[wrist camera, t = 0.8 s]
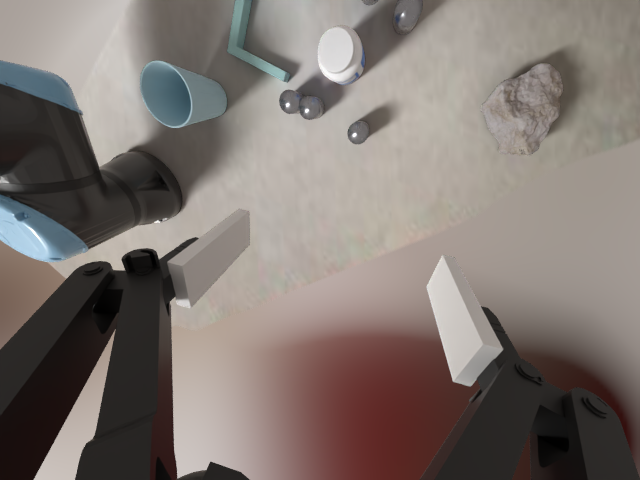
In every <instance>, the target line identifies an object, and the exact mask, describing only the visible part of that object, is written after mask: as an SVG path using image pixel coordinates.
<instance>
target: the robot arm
mask: <svg viewBox="0 0 640 480" xmlns="http://www.w3.org/2000/svg"><path fill="white" fill-rule="evenodd" d="M82 115H83V113H82V111H81V110H80V109H79V107H78V105H77V102H76V100H75V97H74V95H73V92H72V89H71V88H70V86H69V85H68V83H67V82H66V81H65V80H64V79H62V78H61V77H59V76H58V75H55V74H54V73H51V72H48V71H43V70H39V69H36V68H32V67H27V66H23V65H19V64H15V63H10V62H5V61H1V60H0V240H1V241H3V242H4V243H6V244H7V245H9V246H10V247H12V248H13V249H15V250H17V251H19V252H20V253H22V254H24V255H26V256H29V257H31V258H34V259H37V260H40V261H45V262H59V261H63V260H66V259H68V258H71V257H73V256H76V255H78V254H81V253H84V252H87V251H88V250H89V249H91V248H93V247H95V246H97V245H99V244H101V243H103V242H105V241H107V240H109V239H111V238H113V237H115V236H117V235H119V234H121V233H123V232H125V231H127V230H129V229H131V228H133V227H135V226H137V225H145V224H151V223H159V222H164V221H166V220H168V219H170V218H172V217H174V216H175V215H176V214H177V213H178V212H179V210H180V208H181V204H182V196H181V191H180V188H179V185H178V183H177V181H176V179H175V177H174V176H173V174H172V173H171V172H170V170H169V169H168V168H167V167H166V166H165V165H164V164H163V163H162V162H161V161H160V160H158V159H157V158H155V157H154V156H152V155H150V154H147V153H145V152H140V151H132V152H127V153H122V154H119V155H117V156H116V157H114V158H113V159H112V160H111V161H110V162H108V163H106V164H104V165H103V166H101V167H99V166H98V163H97V160H96V157H95V154H94V151H93V148H92V145H91V142H90V139H89V136H88V133H87V130H86V127H85V124H84V121H83V118H82ZM249 245H250V219H249V211H247V210H242V209H238V210H237V211H235V212H234V213H233V214H231V215H230V216H229V217H227V218H226V219H225V220H223V221H222V222H221V223H219V224H218V225H217V226H215V227H214V228H212V229H211V230H210V231H208V232H207V233H206V234H204V235H203V236H202V237H200V238H196V237H195V238H192V239H189V240H187V241H185V242H184V243H182V244H181V245H179V246H178V247H176V248H175V249H174V250H172V251H171V252H169V253H168V254H166V255H165V256H164V257H162V258H161V259H158V255H157V252H156V251H155V250H153V249H148V248H146V249H137V250H133V251H131V252H128V253H127V254H125V255H124V256H123V257H122V262H123V265H124V268H125V270H126V271H119V270H113V269H112V266H111V264H110V263H108V262H103V261H98V262H91V263H87V264H85V265H83V266H81V267H79V268H77V269H76V270H75V271H74V272H73V273H72V274H71V275H70V276H69V277H68V278H67V279H66V280H65V281H64V282H63V283H62V284H61V286H60V287H59V288H58V289H57V290H56V291H55V292H54V293H53V294H52V295H51V296H50V297H49V298H48V299H47V300H46V302H45V303H44V304H43V305H42V306H41V307H40V308H39V309H38V310H37V311H36V312H35V313H34V314H33V315H32V317H31V318H30V319H29V320H28V321H27V322H26V323H25V324H24V325H23V326H22V327H21V328H20V329H19V330H18V332H17V333H16V334H15V335H14V336H13V337H12V338H11V339H10V340H9V341H8V342H7V343H6V344H5V345H4V347H2V349H1V350H0V480H33V479H34V478H35V476H36V474H37V472H38V470H39V468H40V466H41V465H42V463H43V461H44V459H45V457H46V455H47V454H48V452H49V450H50V448H51V446H52V444H53V443H54V441H55V439H56V437H57V435H58V433H59V431H60V430H61V428H62V426H63V424H64V422H65V420H66V419H67V417H68V415H69V413H70V411H71V409H72V408H73V405H74V404H75V402H76V400H77V399H78V397H79V395H80V393H81V391H82V389H83V387H84V386H85V384H86V382H87V380H88V378H89V376H90V375H91V373H92V371H93V369H94V367H95V365H96V364H97V361H98V360H99V358H100V356H101V354H102V352H103V351H104V349H105V347H106V345H107V343H108V341H109V340H110V338H111V336H112V334H113V332H114V330H115V329H116V331H115V336H114V341H113V346H112V351H111V356H110V362H109V366H108V372H107V377H106V382H105V388H104V392H103V397H102V403H101V407H100V413H99V418H98V423H97V428H96V432H95V436H94V437H93V439H92V440H91V441H89V442H88V443H86V445H85V447H84V449H83V451H82V454H81V457H80V461H79V465H78V469H77V474H76V478H75V480H249V479H248V478H247V477H246V476H245V475H243V474H242V473H241V472H239V471H236V470H233V469H230V468H227V467H224V466H221V465H219V464H216V463H213V462H210V464H209V466H208V468H207V470H205V471H198V472H193V473H190V474H187V475H185V476H182V477H180V478H178V479H177V467H176V460H175V454H174V434H173V386H172V340H171V305H170V301H171V300H172V299H173V298H174V297H176V301H177V305H180V306H184V307H188V308H192V307H193V305H194V304H195V303H196V302H197V301H198V300H199V299H200V298H201V297H202V296H203V295H204V294H205V292H206V291H207V290H208V289H209V288H210V287H211V286H212V285H213V284H214V283H215V282H216V281H217V279H218V278H219V277H220V276H221V275H222V274H223V273H224V272H225V271H226V270H227V269H228V267H229V266H230V265H231V264H232V263H233V262H234V261H235V260H236V259H237V258H238V257H239V256H240V254H241V253H242V252H243V251H244V250H245V249H246V248H247V247H248V246H249ZM427 291H428V294H429V298H430V301H431V305H432V309H433V312H434V316H435V319H436V323H437V326H438V330H439V333H440V337H441V340H442V344H443V347H444V351H445V355H446V358H447V362H448V365H449V369H450V373H451V376H452V380H453V382H456V383H460V384H463V385H467V386H471V385H472V384H473V383H474V382H475V381H476V380H478V383H479V385H480V389H479V390H478V391H477V393H475V395H474V396H473V397H472V398H471V399H470V400H469V401H470V404H469V405H468V407H467V408H466V410H465V411H464V412H463V414H462V416H461V417H460V419H459V420H458V422H457V423H456V425H455V426H454V428H453V430H452V431H451V433H450V434H449V436H448V437H447V439H446V440H445V442H444V443H443V445H442V446H441V448H440V449H439V451H438V452H437V454H436V455H435V457H434V458H433V460H432V462H431V463H430V465H429V466H428V468H427V469H426V471H425V472H424V474H423V475H422V477H421V478H420V480H512V477H513V475H514V472H515V470H516V467H517V464H518V462H519V459H520V456H521V453H522V451H523V448H524V445H525V443H526V440H527V437H528V435H529V432H530V464H531V480H640V478H639V475H638V472H637V469H636V466H635V463H634V460H633V458H632V454H631V452H630V449H629V446H628V443H627V440H626V437H625V434H624V431H623V428H622V425H621V422H620V420H619V418H618V416H617V415H616V413H615V412H614V411H613V410H612V408H611V407H610V406H609V405H607V403H605V402H604V401H603V400H602V399H600V398H599V397H598V396H596V395H595V394H593V393H591V392H589V391H587V390H585V389H583V388H577V387H576V388H574V389H572V390H570V391H569V392H568V393H567V392H565V391H563V390H561V389H559V388H557V387H555V386H553V385H551V384H549V383H547V382H546V381H545V379H544V377H543V375H542V374H541V373H540V372H539V371H538V370H537V369H536V368H535V367H534V366H533V365H531V364H530V363H528V362H526V361H525V360H523V359H521V358H520V357H519V355H518V353H517V351H516V350H515V348H514V346H513V345H512V343H511V341H510V339H509V338H508V336H507V334H505V331H504V329H503V327H501V324H500V322H499V321H498V318H497V317H496V316H495V315H494V314H493V313H492V312H491V311H490V310H489V309H488V308H486V307H482V306H480V304H479V302H478V300H477V299H476V297H475V295H474V293H473V291H472V289H471V287H470V285H469V283H468V282H467V279H466V278H465V276H464V274H463V272H462V270H461V268H460V266H459V264H458V262H457V261H456V259H455V257H451V256H446V255H442V257H441V259H440V261H439V263H438V265H437V267H436V269H435V271H434V273H433V275H432V277H431V279H430V281H429V283H428V285H427Z"/></svg>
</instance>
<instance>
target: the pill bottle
mask: <svg viewBox="0 0 640 480" xmlns="http://www.w3.org/2000/svg"><path fill="white" fill-rule="evenodd" d="M318 62H319V66H320V69H321V71H322V72H323V74H324V75H325V76H326V77H327V78H328V79H330V80H332V81H334V82H336V83H338V84H341V85H349V84H352V83H353V82H355V81H356V80H357V79H358V78H359V77H360V76H361V74H362V72H363V69H364V66H365V53H364V50H363V46H362V43H361V41H360V38H359V36H358V35H357V33H356V32H355V31H354V30H353V29H352V28H350V27H348V26H345V25H338V26H335V27H333V28H330V29H328V30H327V31H326V32H325V33H324V34H323V36H322V37H321V39H320V42H319V46H318Z"/></svg>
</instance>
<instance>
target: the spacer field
mask: <svg viewBox="0 0 640 480" xmlns="http://www.w3.org/2000/svg"><path fill="white" fill-rule="evenodd" d="M377 1H378V0H362V2H363V3H364V4H366V5H373V4H375V3H376V2H377ZM422 6H423V2H422V0H398V1H397V3H396V7H395V12H394V18H393V27H394V29H395V31H396V32H397V33H398V34H402V35H403V34H407V33H409V32H410V31H411V30H412V29H413V28H414V26H415V25H416V22H417V20H418V18H419V16H420V13H421V11H422ZM279 102H280V106H281V108H282V110H283V111H284V112H286V113H288V114H293V113H300V114H301V115H302V116H303V117H304V118H305V119H309V120H310V119H316V118H319V117H321V116H322V114H323V112H324V103H323V101H322V100H321V99H320V98H318V97H313V96H304V95H303V94H302V93H301V92H298V91H293V90H286V91H284V92H283V93H282V94H281V96H280V100H279ZM368 134H369V126H368V124H367V123H366V122H364V121H356V122H355V123H353V124H352V125H351V126H350V127H349V129H348V138H349V140H350V141H351V142H352V143H354V144H361V143H363V142H364V141H365V140H366V139H367V137H368Z"/></svg>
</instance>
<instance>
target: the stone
mask: <svg viewBox="0 0 640 480" xmlns="http://www.w3.org/2000/svg"><path fill="white" fill-rule="evenodd" d="M560 75H561V74H560V73H559V72H558V71H557V70H556V69H554V67H553V66H551V65H550V64H548V63H541V64H537V65H535V66H534V67H532V68H531V69H530V70H529V71H528V72H527V73H525V74H522V75H520V76H519V77H517V78H513V79H507V80H504V81H503V82H501V83H500V84H499V85H498V86H497V87H496V89H495V91H493V92H492V93H491V95H490V97H489V98H488V99H487V100H486V101H485V102H484V103H483V104H482V106H481V109H480V111H482V112H483V114H484V116H485V119H486V123H487V125H488V129H489V130H490V131H491V132H492V135H493V136H494V137H495V138H496V139H497V140H498V143H499V148H498V151H499V152H500V153H501V154H506V153H510V154H516V155H527V156H528V155H531V154H533V153H534V152H535V151H537V150H538V149H539V145H540V143H541V142H542V141H543V139H544V138H545V137H546V135H547V133H548V131H549V129H550V126H551V124H552V123H553V121H555V120H556V119H557V118H558V117H559V115H560V114H559V108H560V101H559V99H560V96H561V94H562V92H563V83H561V80H562V79H561V77H560Z"/></svg>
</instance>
